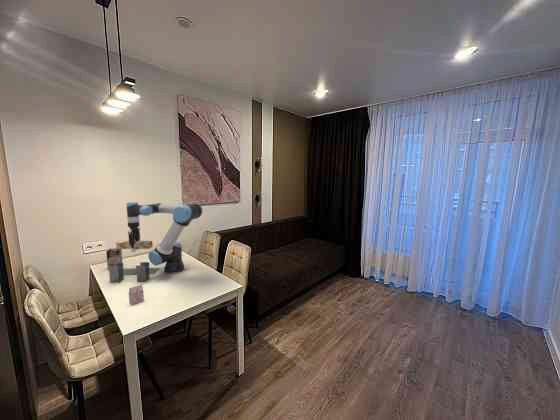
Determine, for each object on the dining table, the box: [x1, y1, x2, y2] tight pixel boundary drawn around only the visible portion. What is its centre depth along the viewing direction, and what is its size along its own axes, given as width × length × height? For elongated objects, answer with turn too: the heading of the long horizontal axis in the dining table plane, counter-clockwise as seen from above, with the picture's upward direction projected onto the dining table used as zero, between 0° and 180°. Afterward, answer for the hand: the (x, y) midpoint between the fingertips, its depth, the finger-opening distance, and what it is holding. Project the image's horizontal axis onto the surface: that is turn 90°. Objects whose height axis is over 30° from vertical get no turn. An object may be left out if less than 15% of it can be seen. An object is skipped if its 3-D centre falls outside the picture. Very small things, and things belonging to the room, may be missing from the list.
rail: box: [115, 240, 153, 250], centre depth 177 cm, size 24×5×5 cm, turn 98°
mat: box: [123, 267, 160, 276], centre depth 180 cm, size 30×11×1 cm, turn 98°
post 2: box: [135, 261, 151, 283], centre depth 165 cm, size 6×7×12 cm
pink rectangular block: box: [128, 283, 145, 306], centre depth 137 cm, size 4×7×10 cm, turn 142°
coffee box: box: [105, 248, 123, 268], centre depth 184 cm, size 9×6×16 cm
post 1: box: [107, 262, 125, 284], centre depth 163 cm, size 6×7×12 cm
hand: (135, 250), depth 178 cm, fingers closed on rail, 5 cm apart
